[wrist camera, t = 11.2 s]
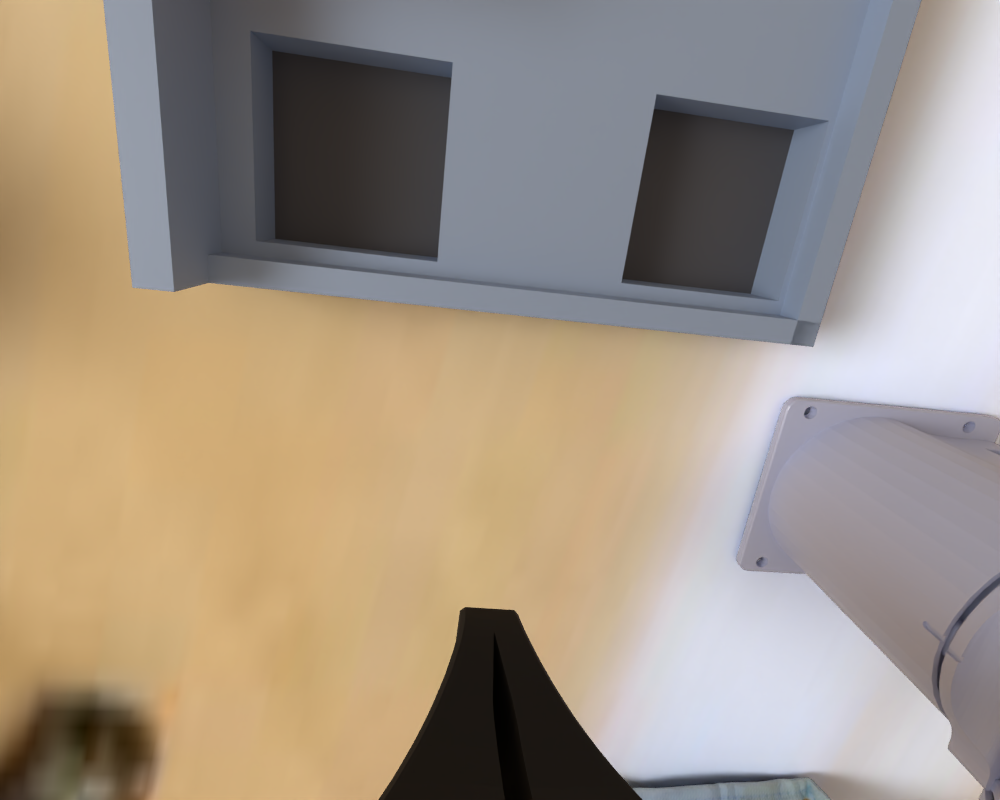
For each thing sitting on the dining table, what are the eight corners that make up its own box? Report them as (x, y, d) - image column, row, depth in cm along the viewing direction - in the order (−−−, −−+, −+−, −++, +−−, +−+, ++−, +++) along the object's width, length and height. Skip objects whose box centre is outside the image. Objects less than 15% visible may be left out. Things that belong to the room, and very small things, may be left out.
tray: (903, -174, 16) (1097, -344, 11) (763, 328, 20) (856, 362, 16) (186, -334, 13) (38, -633, 9) (217, 269, 18) (132, 287, 13)
